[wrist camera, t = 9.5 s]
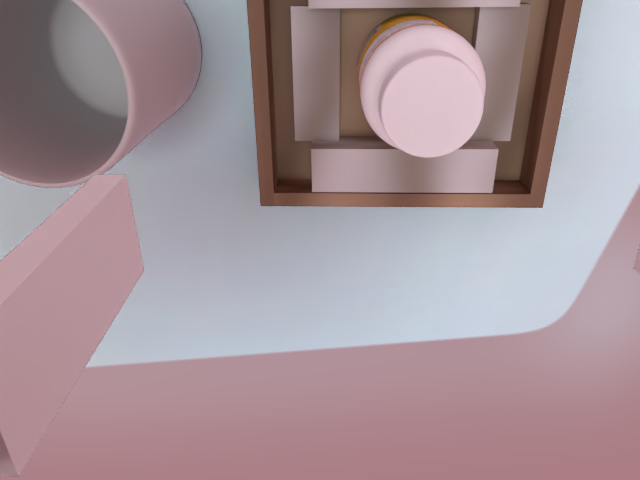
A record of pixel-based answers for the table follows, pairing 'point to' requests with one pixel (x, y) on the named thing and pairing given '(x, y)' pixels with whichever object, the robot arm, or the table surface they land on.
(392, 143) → the supplement bottle
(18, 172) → the mug
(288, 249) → the table surface
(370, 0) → the walled box
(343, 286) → the table surface
